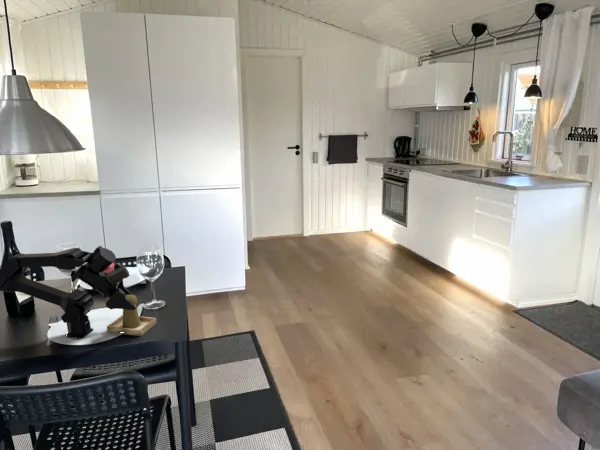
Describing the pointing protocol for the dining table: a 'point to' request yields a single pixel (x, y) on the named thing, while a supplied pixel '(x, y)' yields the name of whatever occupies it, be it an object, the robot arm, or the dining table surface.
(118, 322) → the tray
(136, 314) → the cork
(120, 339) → the dining table surface
